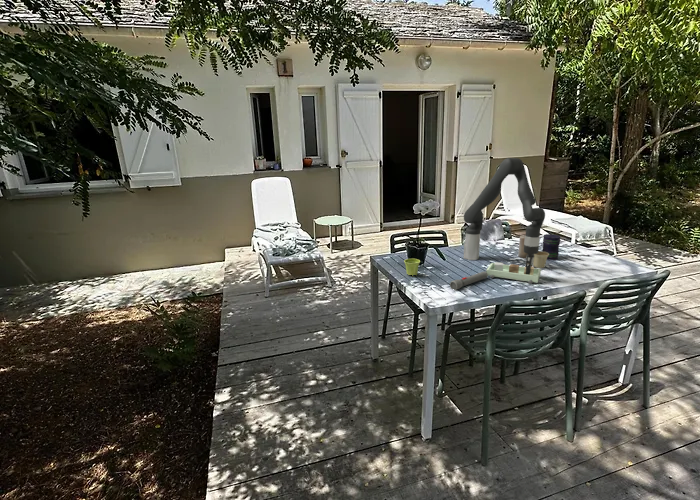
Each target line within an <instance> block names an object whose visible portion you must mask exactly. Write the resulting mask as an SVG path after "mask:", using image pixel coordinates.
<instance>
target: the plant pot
mask: <svg viewBox="0 0 700 500" xmlns="http://www.w3.org/2000/svg"><path fill="white" fill-rule="evenodd" d="M403 262H404V265H405V271H406V275H407V274H408V275H412V276H411V277H414V276H413V275H416V276H418V272H419V265H420V263H421V260H420V259H417V258H407V259H404V261H403ZM408 275H407V276H408Z"/></svg>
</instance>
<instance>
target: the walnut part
mask: <svg viewBox="0 0 700 500" xmlns="http://www.w3.org/2000/svg"><path fill="white" fill-rule="evenodd" d="M509 265H510V266H509V272H512V273H519V266H520V265H519V264H513V263H510V264H509Z"/></svg>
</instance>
